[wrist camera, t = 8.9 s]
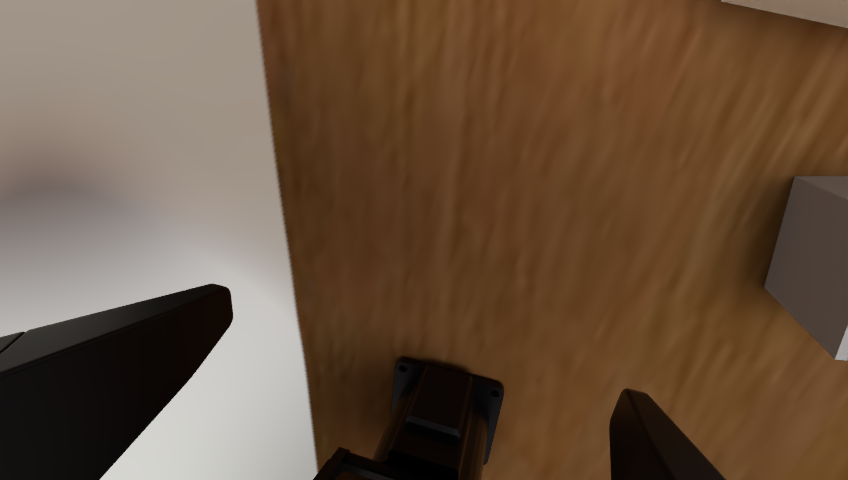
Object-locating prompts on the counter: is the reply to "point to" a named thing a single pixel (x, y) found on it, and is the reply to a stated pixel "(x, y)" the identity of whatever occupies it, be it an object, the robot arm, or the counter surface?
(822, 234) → the light gray block
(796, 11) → the cream base block
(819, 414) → the counter surface
